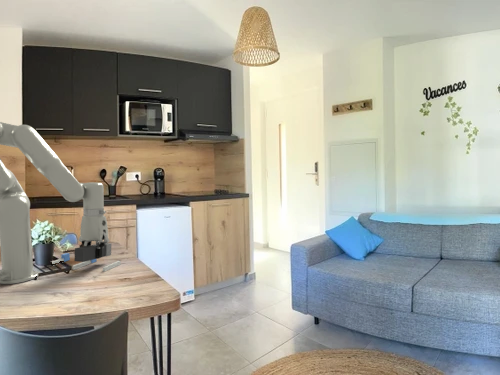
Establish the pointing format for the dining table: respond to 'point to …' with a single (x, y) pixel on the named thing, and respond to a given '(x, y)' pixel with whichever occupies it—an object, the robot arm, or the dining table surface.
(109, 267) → the white blue-tipped sticks
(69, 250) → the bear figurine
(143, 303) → the dining table surface
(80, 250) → the dark grey rectangular block
